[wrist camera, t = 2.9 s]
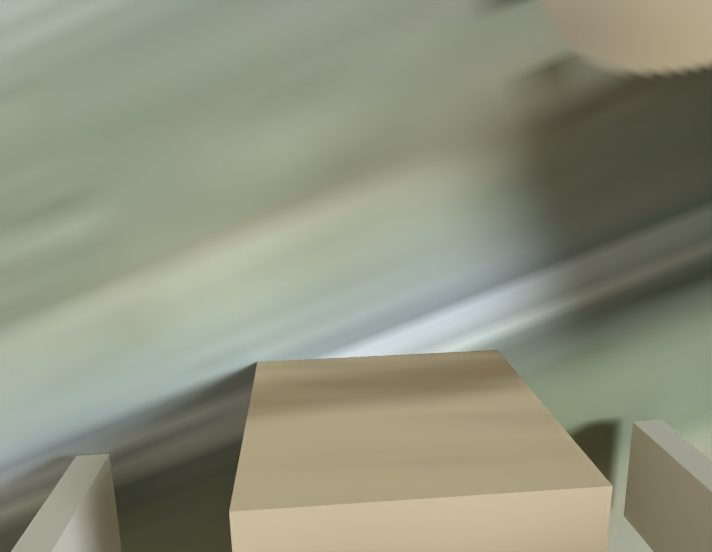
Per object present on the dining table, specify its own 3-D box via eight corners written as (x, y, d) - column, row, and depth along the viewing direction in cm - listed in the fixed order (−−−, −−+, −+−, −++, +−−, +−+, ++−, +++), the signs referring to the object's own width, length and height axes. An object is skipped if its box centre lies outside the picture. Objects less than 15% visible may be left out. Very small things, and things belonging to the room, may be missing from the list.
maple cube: (257, 360, 15) (229, 511, 9) (496, 348, 15) (613, 485, 10) (270, 567, 16) (253, 810, 11) (488, 551, 17) (584, 776, 11)
